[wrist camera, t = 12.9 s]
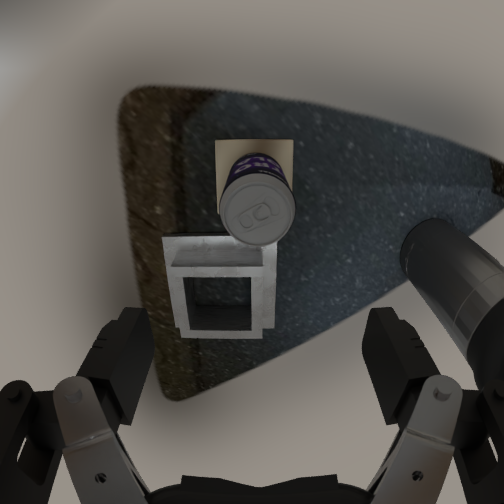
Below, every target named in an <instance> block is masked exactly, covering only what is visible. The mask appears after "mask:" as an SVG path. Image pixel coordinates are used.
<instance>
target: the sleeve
mask: <svg viewBox="0 0 504 504" xmlns="http://www.w3.org/2000/svg"><path fill="white" fill-rule="evenodd" d="M162 240H163V248H164V256H165V263H166V270H167V277H168V283H169V290H170V296H171V302H172V308H173V314H174V319H175V325H176V327H180V332H181V337H182V338H224V339H258V338H262V328H274V320H275V294H276V264H277V242H275V243H273V244H271V245H268V246H264V247H252V246H247V245H244V244H242V243H240V242H238V241H237V240H235V239H234V238H233V237H232V236H231V235H230V234H229V233H170V234H164V235H163V236H162ZM193 277H251V301H252V306H196V302H195V294H194V285H193Z"/></svg>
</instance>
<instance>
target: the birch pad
mask: <svg viewBox="0 0 504 504" xmlns="http://www.w3.org/2000/svg"><path fill="white" fill-rule="evenodd" d="M249 153H263V154H266V155H269V156H271V157H272V158H274V159H275V160H276V161H277V162H278V163H279V165H280V166H281V168H282V170H283V173H284V175H285V177H286V179H287V182H288V184H289V186H290V188H291V191H292V174H293V140H288V139H233V140H215V155H216V183H217V207H218V214H219V202H220V198H221V195H222V192H223V189H224V187H225V184H226V181H227V178H228V175H229V172H230V169H231V167H232V166H233V164H234V163H235V162H236V161H237V160H238V159H239V158H240V157H242V156H244V155H246V154H249Z"/></svg>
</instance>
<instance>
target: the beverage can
mask: <svg viewBox="0 0 504 504" xmlns="http://www.w3.org/2000/svg"><path fill="white" fill-rule="evenodd" d="M295 214H296V202H295V198H294V195H293V193H292V191H291V188H290V186H289V184H288V182H287V179H286V177H285V175H284V173H283V170H282V168H281V166H280V165H279V163H278V162H277V161H276V160H275V159H274V158H272V157H271V156H269V155H266V154H263V153H249V154H246V155H244V156H242V157H240V158H239V159H238V160H237V161H236V162H235V163H234V164H233V166H232V167H231V169H230V172H229V175H228V178H227V181H226V184H225V187H224V189H223V192H222V195H221V198H220V202H219V215H220V219H221V221H222V224H223V226H224V227H225V229H226V230H227V231H228V232H229V234H230V235H231V236H232V237H233V238H234V239H235V240H237V241H238V242H240V243H242V244H244V245H247V246H252V247H264V246H268V245H271V244H273V243H275V242H277V241H279V240H280V239H281V238H282V237H283V236H284V235H285V234H286V233H287V231H288V230H289V229H290V227H291V225H292V223H293V221H294V218H295Z"/></svg>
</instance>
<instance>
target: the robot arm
mask: <svg viewBox="0 0 504 504" xmlns="http://www.w3.org/2000/svg"><path fill="white" fill-rule="evenodd" d="M400 262H401V267H402V270H403V272H404V273H405V275H406V276H407V278H408V279H409V280H410V281H411V283H412V284H413V285H414V287H415V288H416V289H417V291H418V292H419V293H420V295H421V296H422V297H423V299H424V300H425V301H426V303H427V304H428V306H429V307H430V308H431V310H432V311H433V312H434V314H435V315H436V317H437V318H438V319H439V321H440V322H441V324H442V325H443V326H444V328H445V329H446V331H447V332H448V334H449V335H450V337H451V338H452V339H453V341H454V342H455V344H456V345H457V347H458V348H459V350H460V351H461V353H462V354H463V356H464V357H465V359H466V360H467V362H468V364H469V365H470V367H471V368H472V370H473V373H474V379H475V382H476V385H477V387H478V389H479V390H464V389H461V387H460V385H459V384H458V383H457V382H456V381H455V380H454V379H452V378H450V377H448V376H444V375H441V374H440V372H439V370H438V368H437V367H436V365H435V363H434V361H433V359H432V358H431V356H430V354H429V352H428V350H427V349H426V347H424V343H423V342H422V340H420V337H419V335H418V333H417V332H416V330H415V328H414V327H413V326H411V325H410V324H409V323H408V322H406V321H405V320H399V318H398V316H397V315H396V313H395V311H394V309H393V308H392V307H384V308H372V309H371V310H370V312H369V316H368V320H367V324H366V329H365V333H364V337H363V341H362V354H363V358H364V361H365V364H366V366H367V369H368V372H369V375H370V378H371V380H372V383H373V386H374V389H375V392H376V395H377V398H378V401H379V404H380V407H381V410H382V413H383V416H384V419H385V422H386V425H391V424H397V423H398V426H399V431H398V432H397V434H396V436H395V439H394V441H393V443H392V445H391V447H390V449H389V451H388V453H387V455H386V457H385V459H384V461H383V463H382V464H381V466H380V468H379V470H378V472H377V473H376V475H375V477H374V478H373V480H372V482H371V483H370V484H369V486H368V488H367V489H366V490H364V489H361V488H359V487H355V486H352V485H348V484H343V483H338V480H337V474H333V475H325V476H314V477H301V478H296V479H293V480H289V481H286V482H282V483H278V484H274V485H270V486H265V487H254V486H249V485H245V484H240V483H236V482H232V481H228V480H225V479H221V478H208V477H196V476H185V475H182V479H181V484H176V485H171V486H167V487H164V488H160V489H158V490H155V491H153V492H150V490H149V489H148V487H147V486H146V484H145V483H144V481H143V479H142V478H141V476H140V475H139V473H138V471H137V469H136V468H135V466H134V464H133V462H132V460H131V458H130V456H129V454H128V453H127V451H126V449H125V447H124V445H123V443H122V441H121V439H120V437H119V435H118V433H117V431H118V428H119V425H120V424H124V425H130V426H131V423H132V420H133V417H134V414H135V411H136V407H137V404H138V401H139V398H140V395H141V392H142V389H143V386H144V383H145V380H146V377H147V374H148V371H149V368H150V365H151V362H152V359H153V356H154V349H155V346H154V339H153V335H152V330H151V326H150V322H149V317H148V313H147V310H146V309H145V308H131V307H125V308H124V309H123V311H122V313H121V314H120V316H119V318H118V320H111V321H110V322H109V323H108V324H107V325H105V326H104V327H103V328H102V330H101V331H100V333H99V335H98V336H97V340H95V342H94V343H93V346H92V348H91V349H90V350H89V352H88V354H87V356H86V358H85V360H84V361H83V363H82V365H81V367H80V369H79V371H78V373H77V375H76V376H73V377H68V378H66V379H64V380H62V381H61V382H60V383H58V385H57V386H56V387H55V389H54V390H52V391H38V392H34V391H33V390H32V388H31V386H30V385H29V384H28V383H27V382H25V381H22V380H16V381H12V382H10V383H8V384H7V385H5V386H4V387H3V389H2V390H1V391H0V504H48V501H49V497H50V493H51V490H52V486H53V483H54V479H55V476H56V473H57V470H58V467H59V463H60V460H61V457H62V454H63V456H64V459H65V462H66V465H67V468H68V471H69V474H70V476H71V479H72V482H73V485H74V487H75V490H76V492H77V495H78V497H79V500H80V502H81V504H436V502H437V499H438V497H439V494H440V491H441V489H442V486H443V483H444V480H445V478H446V475H447V472H448V469H449V466H450V463H451V460H452V457H454V460H455V463H456V466H457V469H458V473H459V476H460V480H461V483H462V486H463V490H464V494H465V497H466V501H467V504H504V267H503V266H502V265H501V264H500V263H499V262H498V261H497V260H496V259H495V258H494V257H493V256H491V255H490V254H489V253H488V252H487V251H485V250H484V249H483V248H482V247H480V246H479V245H478V244H477V243H475V242H474V241H473V240H471V239H470V238H469V237H468V236H466V235H465V234H464V233H462V232H461V231H460V230H457V229H456V228H455V227H453V226H452V225H451V224H449V223H448V222H446V221H444V220H441V219H430V220H427V221H425V222H422V223H421V224H419V225H418V226H416V227H415V228H414V229H413V230H412V231H411V232H410V234H409V235H408V236H407V238H406V240H405V242H404V244H403V246H402V250H401V255H400ZM489 437H491V439H492V442H493V444H494V447H495V449H496V452H497V455H498V462H497V461H496V458H495V456H494V453H493V450H492V448H491V445H490V443H489V440H488V438H489ZM24 438H26V442H25V445H24V447H23V449H22V452H21V455H20V457H19V459H18V462H17V456H18V453H19V451H20V448H21V446H22V443H23V441H24Z"/></svg>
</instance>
